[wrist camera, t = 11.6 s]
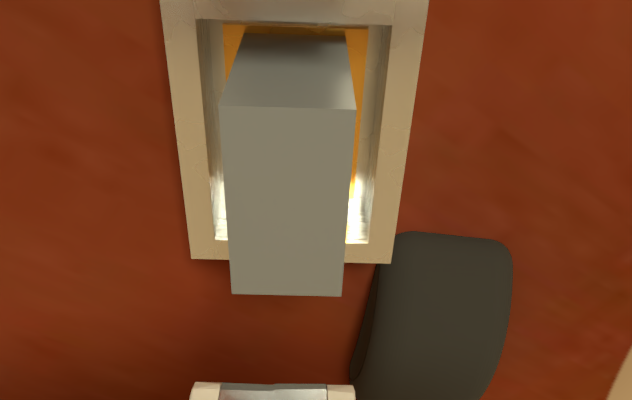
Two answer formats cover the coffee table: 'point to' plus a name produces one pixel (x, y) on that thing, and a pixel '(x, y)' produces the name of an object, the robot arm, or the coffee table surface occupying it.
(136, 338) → the coffee table surface
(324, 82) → the grey block
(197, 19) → the tray
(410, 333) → the computer mouse
